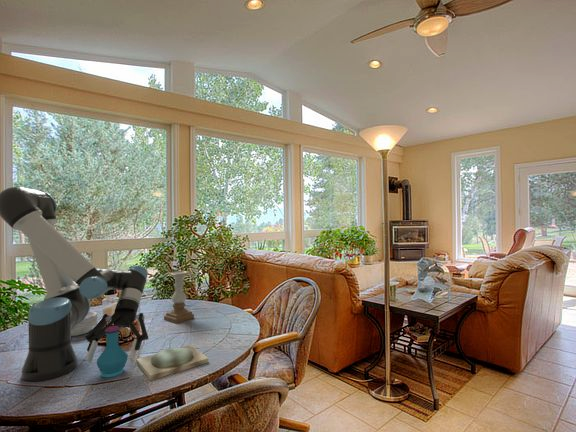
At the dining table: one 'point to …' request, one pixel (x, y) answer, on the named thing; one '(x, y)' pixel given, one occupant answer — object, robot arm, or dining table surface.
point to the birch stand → (171, 361)
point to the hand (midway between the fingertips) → (109, 360)
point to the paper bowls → (85, 324)
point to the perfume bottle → (112, 355)
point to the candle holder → (178, 300)
